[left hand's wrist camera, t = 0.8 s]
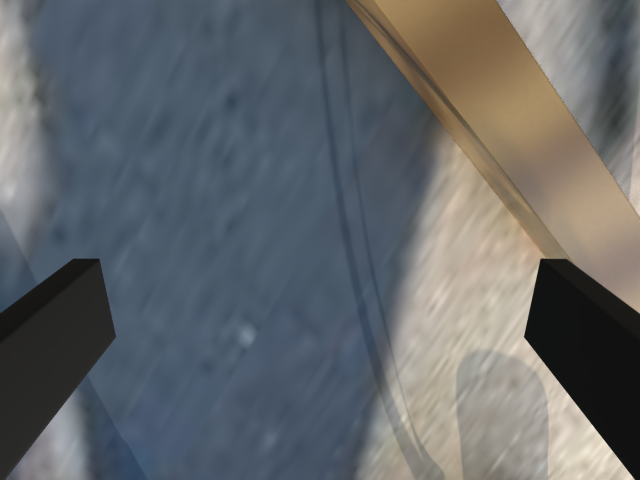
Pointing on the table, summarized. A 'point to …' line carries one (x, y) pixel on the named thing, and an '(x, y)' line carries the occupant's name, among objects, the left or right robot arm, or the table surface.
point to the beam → (514, 131)
